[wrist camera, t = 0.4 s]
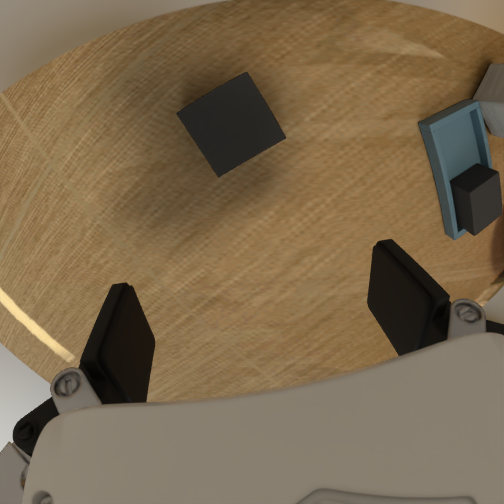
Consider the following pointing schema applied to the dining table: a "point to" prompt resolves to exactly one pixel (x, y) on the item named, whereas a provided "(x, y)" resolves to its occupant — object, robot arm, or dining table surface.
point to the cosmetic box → (492, 99)
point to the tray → (455, 152)
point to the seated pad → (476, 198)
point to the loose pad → (231, 124)
